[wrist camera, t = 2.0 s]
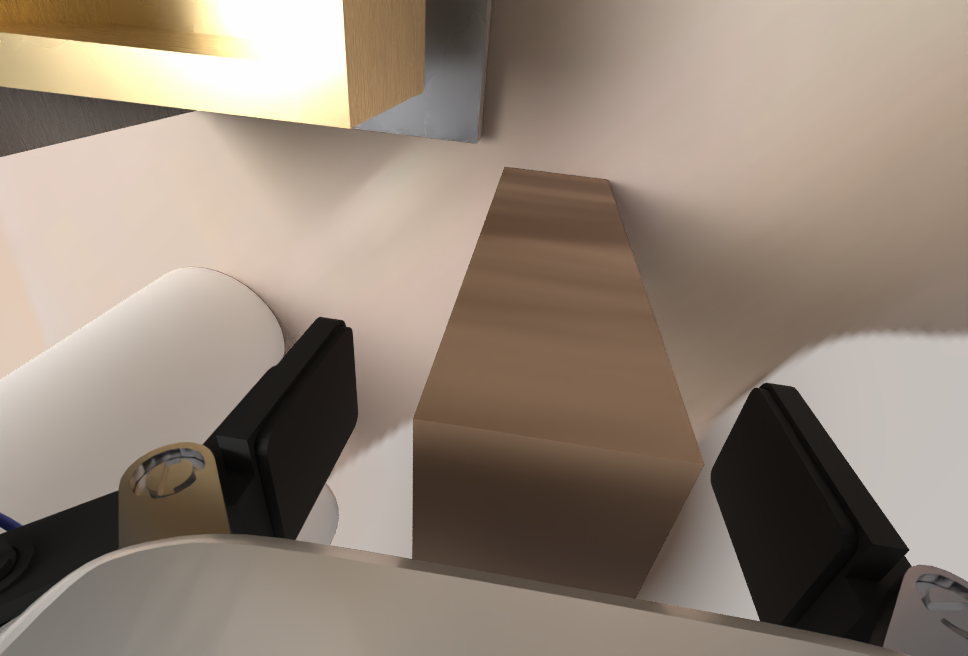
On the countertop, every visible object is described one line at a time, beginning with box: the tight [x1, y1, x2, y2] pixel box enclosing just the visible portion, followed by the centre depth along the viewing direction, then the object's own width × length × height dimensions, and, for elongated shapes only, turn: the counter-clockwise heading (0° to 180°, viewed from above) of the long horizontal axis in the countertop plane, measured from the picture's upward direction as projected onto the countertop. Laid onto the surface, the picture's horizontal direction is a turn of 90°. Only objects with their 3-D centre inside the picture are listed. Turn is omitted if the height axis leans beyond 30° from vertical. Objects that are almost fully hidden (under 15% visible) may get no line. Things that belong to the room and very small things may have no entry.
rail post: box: [412, 167, 704, 599], centre depth 13 cm, size 4×4×14 cm
